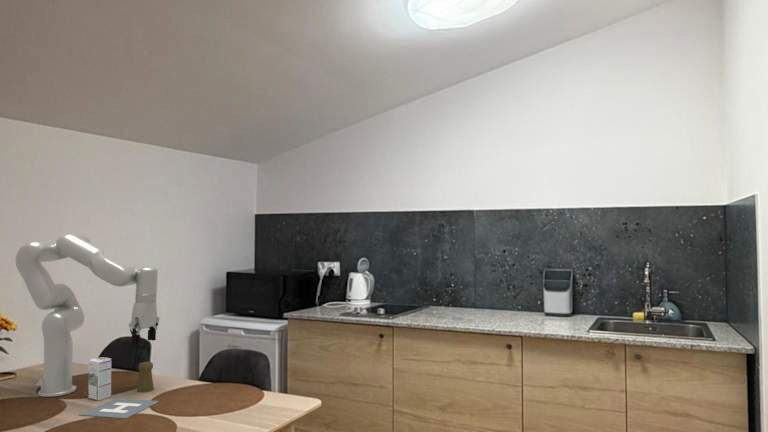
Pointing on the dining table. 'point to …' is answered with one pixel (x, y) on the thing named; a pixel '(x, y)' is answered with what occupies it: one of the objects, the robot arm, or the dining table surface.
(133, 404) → the letter sheet
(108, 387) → the syrup box
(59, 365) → the robot arm
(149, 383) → the cork
